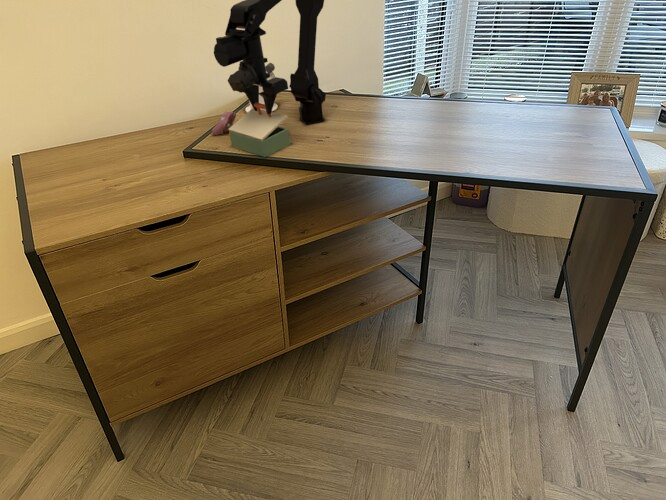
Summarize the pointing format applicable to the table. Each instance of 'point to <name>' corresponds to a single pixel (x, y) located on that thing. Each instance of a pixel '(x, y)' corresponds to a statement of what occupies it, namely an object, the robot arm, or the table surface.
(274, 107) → the panda figurine
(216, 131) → the purple oblong lump
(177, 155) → the table surface
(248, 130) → the lid
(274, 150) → the box
